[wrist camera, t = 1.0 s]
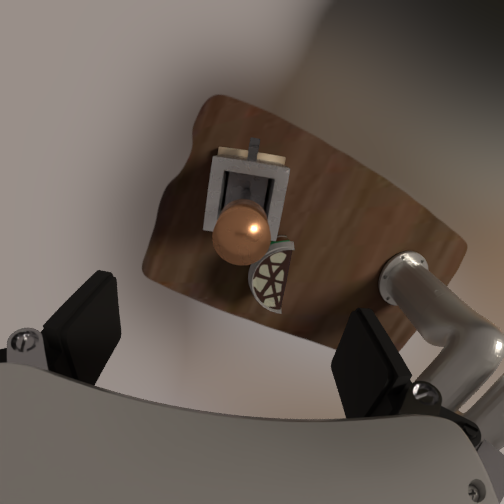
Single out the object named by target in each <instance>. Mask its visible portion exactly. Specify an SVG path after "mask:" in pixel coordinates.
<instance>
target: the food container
mask: <svg viewBox="0 0 504 504" xmlns="http://www.w3.org/2000/svg"><path fill="white" fill-rule="evenodd" d="M292 250H295V249H294V243H293V242H290V241H289V239H288V238H287V236H286V235H277V239H276V241H271V243H270V247H269V249H268V251H267V253H266V254H265V255H264V256H263V257H262V258H261V259H260V260H259V261H257V262H255V263H253V264H251V266H250V269H249V273H248V282H249V286H250V289H251V291H252V294H253V295H254V297H255V299H256V300H257V301H258V302H259V303H260V304H261V305H262V306H263V307H265V308H266V309H268V310H270V311H272V312H276V313H281V305H282V299H283V295H284V290H285V286H286V282H287V276H288V270H289V265H290V260H291V255H292Z"/></svg>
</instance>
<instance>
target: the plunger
mask: <svg viewBox="0 0 504 504" xmlns="http://www.w3.org/2000/svg"><path fill="white" fill-rule="evenodd" d="M268 179H269V178H268V177H262V176H256V175H250V174H243V173H237V172H229V178H228V185H227V191H226V198H225V205H224V208H223V210H222V211H221V213H220V216H219V218H218V220H217V222H216V225H215V227H214V230H213V235H212V240H213V245H214V248H215V250H216V252H217V253H218V255H219V256H220V257H221V258H222V259H224V260H225V261H227V262H229V263H231V264H234V265H241V266H242V265H250V264H253V263H255V262H257V261H259V260H260V259H261V258H262V257H263V256H264V255H265V254H266V253H267V251H268V249H269V247H270V243H271V233H270V228H269V224H268V219H267V216H266V213H265V211H264V210H263V207H264V201H265V196H266V190H267V185H268Z"/></svg>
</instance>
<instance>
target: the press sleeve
mask: <svg viewBox="0 0 504 504" xmlns="http://www.w3.org/2000/svg"><path fill="white" fill-rule="evenodd" d="M259 143H260V139H257V138H250V144H249V150H248V156H247V157H245V156H238V155H231V154H220V155H216V156H213V159H212V165H211V172H210V179H209V187H208V194H207V202H206V209H205V218H204V226H203V230H206V231H213V230H214V227H215V225H216V222H217V220H218V218H219V216H220V213H221V211H222V210H223V208H224V205H225V198H226V191H227V185H228V178H229V172H237V173H243V174H250V175H256V176H262V177H268V178H269V179H268V185H267V190H266V196H265V201H264V207H263V210H264V211H265V213H266V216H267V219H268V224H269V228H270V233H271V241H276V239H277V234H278V229H279V224H280V219H281V214H282V209H283V204H284V199H285V194H286V188H287V183H288V178H289V173H290V168H288V167H286V166H285V165H283V164H281V163H279V162H275V161H269V160H263V159H257V155H258V149H259Z"/></svg>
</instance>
